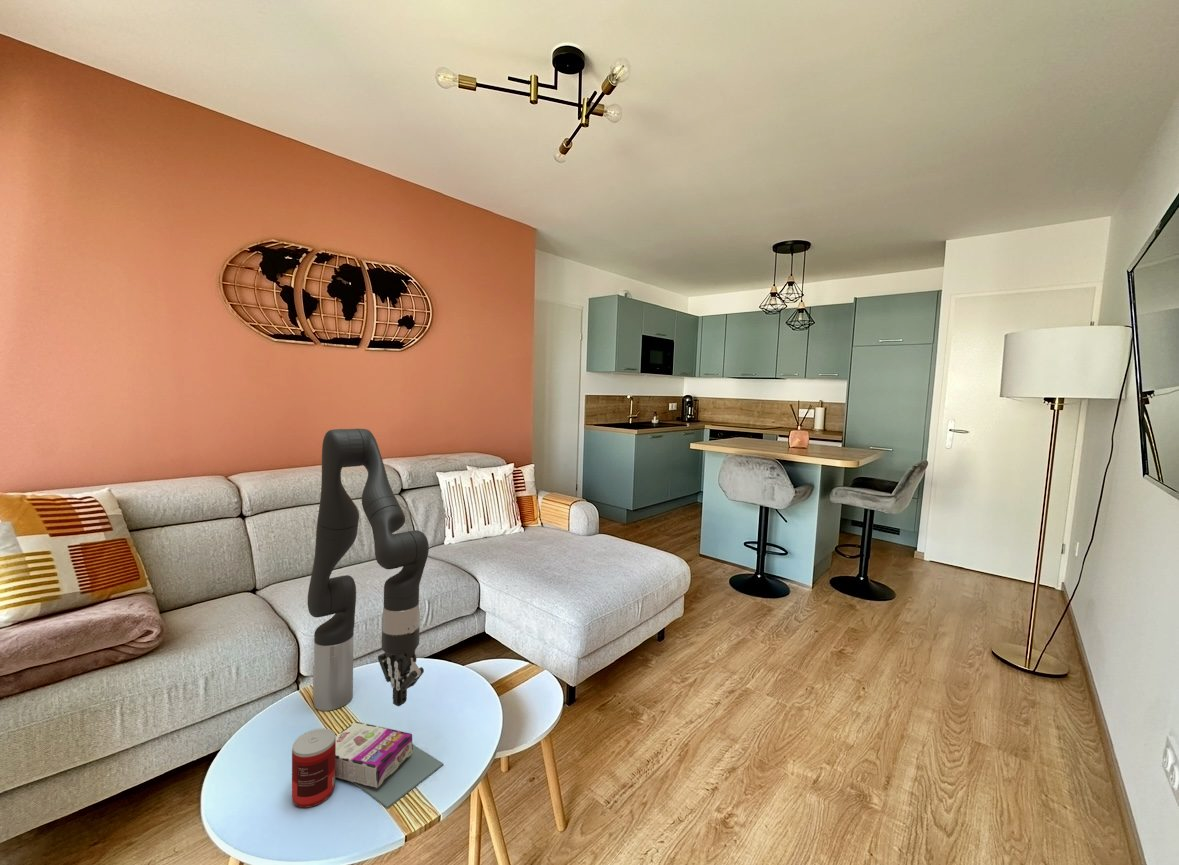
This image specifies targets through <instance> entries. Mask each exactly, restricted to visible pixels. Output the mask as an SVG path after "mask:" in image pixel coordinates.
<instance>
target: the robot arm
mask: <svg viewBox="0 0 1179 865" xmlns="http://www.w3.org/2000/svg"><path fill="white" fill-rule="evenodd" d="M321 448H322V449H321V484H320V485H321V486H320V487H321V488H320V498H319V499H320V500H319V506H318V508H319V509H318V514H317V515H318V516H317V521H316V532H315V533H316V534H315V549H314V550H315V551H314V560H313V564H312V570H311V571H312V572H311V575H310V581H309V585H308V592H307V609H308V612H309V614H310V616H311V617H313V618H323V617H328V616H331V618H330V619H328V620H326V621H325V622H323V623H322V624H320V625H319V626H318V627H317V628H316V629H315V630H314V634H313V636H314V637H313V640H314V641H313V644H314V645H313V647H314V648H313V649H314V650H313V651H314V652H313V659H314V660H313V662H314V663H313V667H312V668H313V671H312V700H313V707H314V709H316V710H318V711H323V712H325V711H327V712H328V711H335V710H337V709H340V708H342V707H344V706H345V705H348V704H349V703H350V702H351V701H352V700H353V698H354V697H353V696H354V634H355V633H354V631H355V630H354V629H355V624H356V623H355V617H356V606H357V605H356V603H357V587H356V582H355V579H354V578H353V577H352V576H351V575H350V574H349V575H348V574H347V575H340V576H336V577H331V574H332V572H333V570H334V569H335V567H336V566H337V565H338V563H339V562H340V561H341V559H343V557H344V556H345V555H346V553H348V551H349V550H350V549H351V548H352V546H353V544H354V543H355V541H356V539H357V536H358V530H359V529H358V528H359V523H360V513H359V509H358V506H356V504H355V502H354V501H353V499H352V498H351V496H350V495H349V494H348V492H347V490H346V489H345V488H344V485H343V483H342V476H341V474H342V469H343V468H352V467H354V468H355V467H360V466H361V467H363V466H364V468H365V469H366V472H367V479H366V482H365V485H364V487H363V490H362V494H361V508H362V510H363V512H364V514H365V516H366V519H367V520H368V523H369V524H370V527H371V531H372V537H373V542H374V556H375V560H376V562H377V564H378V565H379V566H380V567H381V568H383V569H385V570H393V569H394V570H395V569H399V568H401V570H400V571H399V572H397V573H396V574H394V575H392V576H390V577H389V578H387V579H386V580H385V583H384V584H383V586H384V587H383V607H382V608H383V610H382V616H381V650H382V651H383V653H380V654H379V655H378V656H377V659H378V663H379V665H380V667H381V672H382V673H383V676H384V679H385V681H386V682H387V683H390V687H391V688H392V705H394V706H396V707H401V706H402V705H403V704H406V702H407V694H408V689H409V688H411V687H413V686H414V685H415V684H416V683H417V682H418V681H419V679H420V678H421V676H423V674H424V671H425V670H424V668H423V667H422V666H421V667H419V666H418V664H417V656H416V649H417V648H418V646H419V645H420V635H421V634H420V630H421V629H420V628H421V626H420V625H421V624H420V623H421V611H420V584H421V580H422V578H423V574H424V569H425V566H426V564H427V561H428V555H429V551H430V550H429V548H430V546H429V540H428V538H427V536H426V534H425V533H424V532H422V531H421V530H418V529H417V530H416V529H415V530H414V529H413V530H408V531H403V532H399V533H398V531H399V530H400V529H401V528H402V527H403V526H404V525H405V522H406V515H405V513H404V511H403V509H402V507H401V504H400V503H399V501H398V499H397V497H396V495H395V494H394V492H393V490H392V487H391V484H390V482H389V478H388V475H387V472H386V468H385V467H386V466H385V464H384V461H383V458H382V455H381V451H380V449H379V445H378V442H377V439H376V438H375V436H374V434H373V433H372V432H371V431H370V430H369V429H366V428H336V429H329V430H327V432H325V434H324V437H323V440H322V447H321ZM395 532H397V533H395Z"/></svg>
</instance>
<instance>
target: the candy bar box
mask: <svg viewBox="0 0 1179 865" xmlns="http://www.w3.org/2000/svg"><path fill="white" fill-rule="evenodd" d="M335 737H336V755H335V779H340V780H345V781H348V782H352V783H353V782H355V783H359V784H363V785H366V786H370V787H374V788H378V787H379V786H380V785H381V784H382V783H383V782H384V781H385V780H386V779H387V778H388V777H389V776H390V775H391V774H392V773H393V772H394V771H395V770H396V769H397V768H398V767H399V766H400V765H401V764H402V763H403V762H404V761H405V760H406V759H407V758H408V757H409V756H410V755H412V753H413V745H414V744H413V733H410V732H406V731H400V730H397V729H392V728H387V727H382V726H378V725H373V724H368V723H364V722H359V721H354V722H353V723H351V724H350V725H349V726H347V727H346V728H345V729H343V730H342V731H341V732H340V733H339V734H337V735H335ZM412 744H413V745H412Z"/></svg>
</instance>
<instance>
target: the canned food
mask: <svg viewBox="0 0 1179 865" xmlns="http://www.w3.org/2000/svg"><path fill="white" fill-rule="evenodd" d="M335 755H336V733H335V731H334V730H332V729H329V728H322V727H321V728H316V729H311V730H310V731H307V732H304V733H303V734H301V735H300V736H299V737H297V738H296V739H295V740H294V742H293V744H292V749H291V798H292V801H293V803H294V805H295V806H297V807H300V808H310V807H314V806H317V805H320V804H321V803H323V802H325V800H327V799H328V798H329V797H330V796H331V795H332V794H333V791H334V788H335V786H336V777H335Z"/></svg>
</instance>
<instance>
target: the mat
mask: <svg viewBox="0 0 1179 865" xmlns="http://www.w3.org/2000/svg"><path fill="white" fill-rule="evenodd" d="M412 745H413V753H412V755H410V756H409V757H408V758H407V759H406V760H405V761H404V762H403V763H402V764H401V765H400V766H399V767H398V768H397V769H396V770H395V771H394V772H393V773H392V774H391V775H390V776H389V777H388V778H387V779H386V780H385V781H384V782H383V783H382V784H381V785H380V786H379V787H378V788H374V787H370V786H366V785H363V784H359V783H355V782H352V783H353V785H355V786H357V787H358V788H359V789H361V790H362V791H363V792H365V793H366V794H367V795H369V796H370V797H371V798H372V799H374V800H375V801H376V802H377V803H379V804H380V805H382V806H383V807H384V808H386V809H389V808H391V807H392V806H393V805H394V804H396V803H397V802H398V801H399V800H401V799H402V798H403V797H404V796H406V795H407V794H408V793H410V792H411V791H412V790H413V789H415V788H416V787H417V786H419V785H420V784H421V783H423V782H424V781H425V780H426V779H428V778H429V777H430V776H431V775H433V774H434V773H436V772H437V771H438V770H440V769H441V767H443V766H444V763H443V762H442V761H440V760H439V759H437V758H435V757H434V756H433V755H430V754H429V753H428V752H426V751H424V750H423V749H422V748H419V747H418V746H416V745H415V744H414V743H412Z"/></svg>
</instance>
